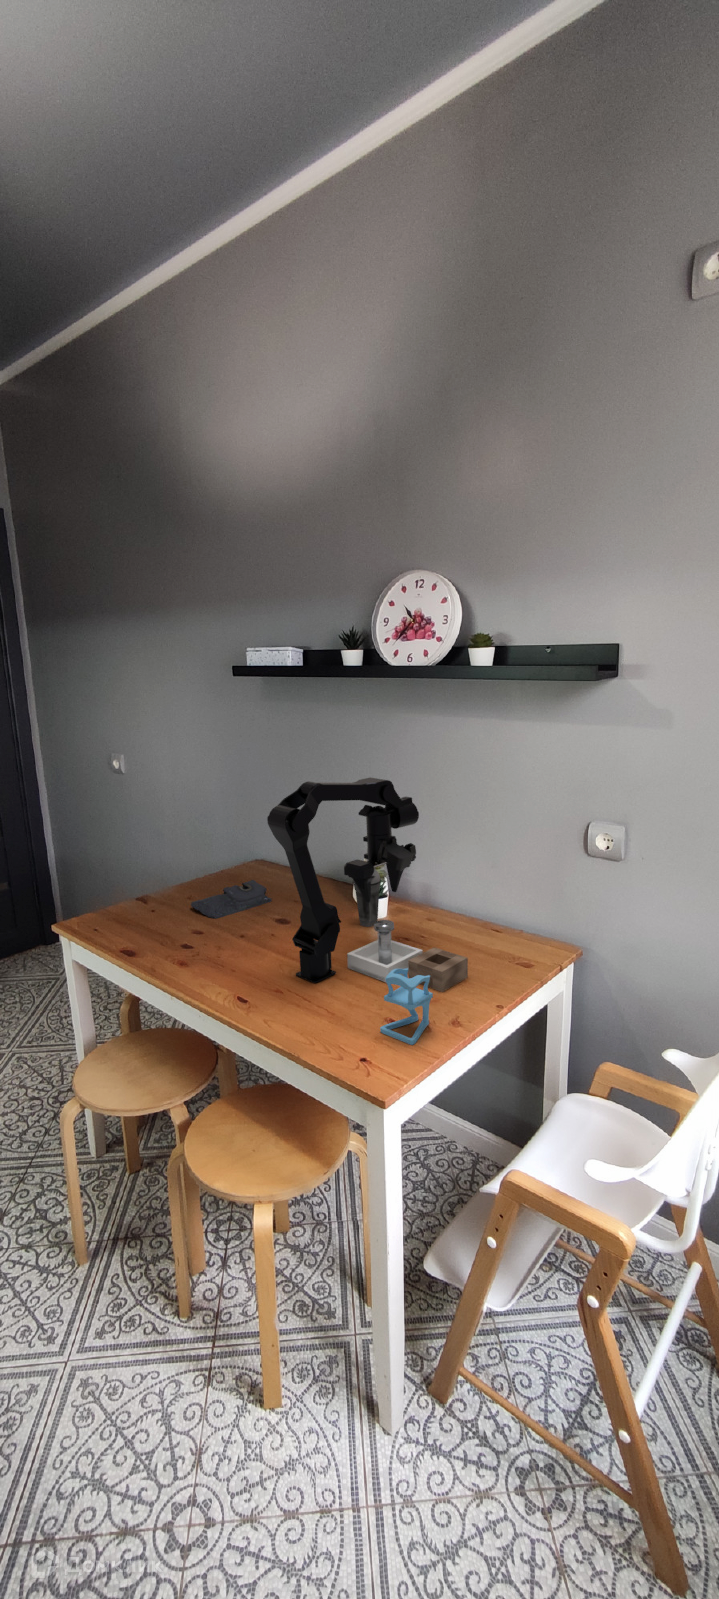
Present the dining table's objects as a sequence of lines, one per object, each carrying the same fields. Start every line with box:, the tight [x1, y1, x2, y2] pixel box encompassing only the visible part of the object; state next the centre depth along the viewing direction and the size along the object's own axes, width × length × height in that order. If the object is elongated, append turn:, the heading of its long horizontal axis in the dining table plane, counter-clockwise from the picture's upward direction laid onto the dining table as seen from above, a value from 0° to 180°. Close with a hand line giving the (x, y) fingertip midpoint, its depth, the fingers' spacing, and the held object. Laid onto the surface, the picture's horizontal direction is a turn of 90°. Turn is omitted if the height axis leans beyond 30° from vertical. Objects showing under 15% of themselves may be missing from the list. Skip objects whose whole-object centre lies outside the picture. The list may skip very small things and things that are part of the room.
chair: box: [379, 968, 434, 1046], centre depth 136 cm, size 8×8×12 cm
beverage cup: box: [352, 850, 382, 928], centre depth 189 cm, size 7×7×20 cm
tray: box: [346, 939, 424, 983], centre depth 164 cm, size 12×12×4 cm
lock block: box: [408, 947, 469, 993], centre depth 157 cm, size 9×9×4 cm
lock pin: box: [373, 919, 395, 965], centre depth 164 cm, size 4×4×9 cm
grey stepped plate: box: [190, 879, 273, 920], centre depth 210 cm, size 15×22×5 cm
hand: (381, 896), depth 172 cm, fingers open, 9 cm apart
